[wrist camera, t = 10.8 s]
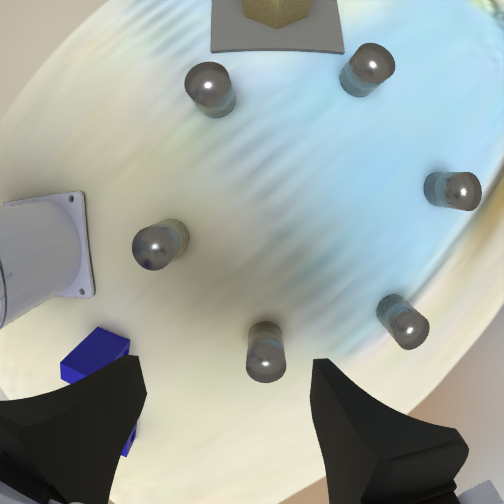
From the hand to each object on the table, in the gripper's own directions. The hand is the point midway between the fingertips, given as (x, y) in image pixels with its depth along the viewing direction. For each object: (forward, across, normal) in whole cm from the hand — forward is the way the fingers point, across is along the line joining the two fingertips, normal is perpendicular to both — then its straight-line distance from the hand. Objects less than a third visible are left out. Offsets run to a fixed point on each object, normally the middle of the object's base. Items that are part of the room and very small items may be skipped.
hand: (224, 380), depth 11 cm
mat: (+9, -3, -22) cm, 24 cm away
